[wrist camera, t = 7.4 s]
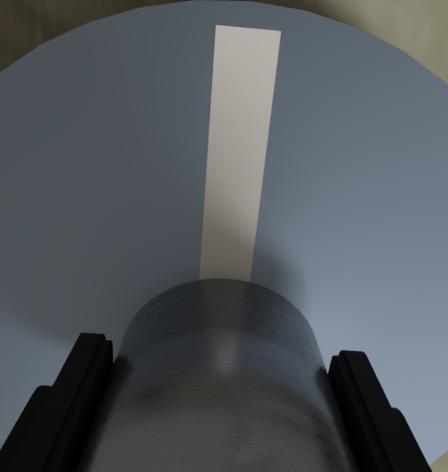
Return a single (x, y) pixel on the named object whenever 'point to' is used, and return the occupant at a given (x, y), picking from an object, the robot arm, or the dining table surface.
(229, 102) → the turntable
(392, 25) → the dining table surface
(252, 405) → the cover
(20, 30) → the dining table surface
